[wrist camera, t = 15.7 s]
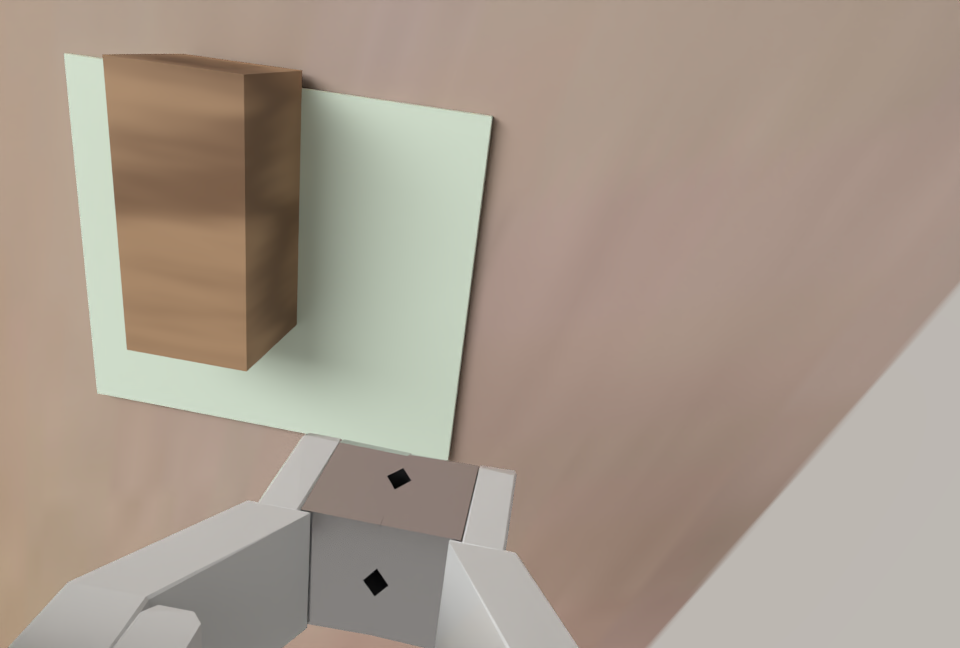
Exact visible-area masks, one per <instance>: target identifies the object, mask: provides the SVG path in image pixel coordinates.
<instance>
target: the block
mask: <svg viewBox="0 0 960 648" xmlns="http://www.w3.org/2000/svg"><path fill="white" fill-rule="evenodd" d="M103 67H104V79H105V91H106V103H107V115H108V127H109V140H110V152H111V164H112V176H113V188H114V200H115V212H116V224H117V236H118V248H119V261H120V273H121V285H122V297H123V309H124V321H125V333H126V345H127V350H131V351H137V352H142V353H148V354H153V355H159V356H164V357H169V358H175V359H180V360H186V361H191V362H197V363H202V364H208V365H213V366H219V367H224V368H230V369H235V370H241V371H246V372H247V371H248V370H249V369H250V368H251V367H252V366H253V365H254V364H255V363H256V362H257V361H259V360H260V359H261V358H262V357H263V356H264V355H265V354H266V353H267V352H268V351H269V350H270V349H271V348H272V347H273V346H275V345H276V344H277V343H278V342H279V341H280V340H281V339H282V338H283V337H284V336H285V335H286V334H287V333H288V332H290V331H291V330H292V329H293V328H294V327H295V326H296V325H297V287H298V240H299V193H300V146H301V99H302V70H294V69H287V68H280V67H273V66H266V65H259V64H252V63H244V62H237V61H230V60H223V59H216V58H209V57H202V56H194V55H187V54H114V55H103Z"/></svg>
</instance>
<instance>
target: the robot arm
mask: <svg viewBox="0 0 960 648" xmlns="http://www.w3.org/2000/svg"><path fill="white" fill-rule="evenodd" d="M515 482H516V472H515V470H508V469H502V468H495V467H489V466H482V465H481V466H480V468H479V466H476V465H471V464H465V463H459V462H454V461H448V460H442V459H437V458H431V457H425V456H420V455H414V454H411V453H408V452H403V451H398V450H393V449H388V448H384V447H379V446H374V445H369V444H365V443H360V442H355V441H350V440H345V439H344V440H342V439H340V438H335V437H330V436H324V435H319V434H314V433H308V434H306V435H304V436H303V437H302V438H301V439H300V441H299V442H298V444H297V445H296V447H295V448H294V450H293V451H292V453H291V454H290V456H289V457H288V459H287V460H286V462H285V463H284V465H283V466H282V467H281V469H280V470H279V472H278V473H277V475H276V476H275V478H274V479H273V481H272V482H271V484H270V485H269V487H268V488H267V490H266V491H265V493H264V494H263V496H262V497H261V498H260V500H259V501H258V502H253V501H245V502H243V503H241V504H239V505H237V506H234V507H232V508H230V509H228V510H226V511H223V512H221V513H219V514H217V515H215V516H212V517H210V518H208V519H206V520H204V521H201V522H199V523H197V524H195V525H193V526H190V527H188V528H186V529H184V530H182V531H179V532H177V533H175V534H173V535H171V536H168V537H166V538H164V539H162V540H160V541H157V542H155V543H153V544H151V545H149V546H146V547H144V548H142V549H140V550H138V551H135V552H133V553H131V554H129V555H127V556H124V557H122V558H120V559H118V560H116V561H113V562H111V563H109V564H107V565H105V566H102V567H100V568H98V569H96V570H94V571H91V572H89V573H87V574H85V575H83V576H80V577H78V578H76V579H74V580H72V581H69V582H68V583H67V584H66V585H65V586H64V587H63V588H62V589H61V590H60V591H59V593H58V594H57V595H56V596H55V597H54V598H53V599H52V600H51V601H50V602H49V603H48V604H47V606H46V607H45V608H44V609H43V610H42V611H41V612H40V613H39V614H38V615H37V616H36V617H35V619H34V620H33V621H32V622H31V623H30V624H29V625H28V626H27V627H26V628H25V629H24V631H23V632H22V633H21V634H20V635H19V636H18V637H17V638H16V639H15V640H14V641H13V642H12V644H11V645H10V646H9V647H8V648H282V647H284V646H285V645H286V644H287V643H289V642H290V641H291V640H292V639H294V638H295V637H296V636H297V635H299V634H300V633H301V632H302V631H304V630H305V629H306V628H307V624H311V625H317V626H323V627H328V628H334V629H340V630H345V631H351V632H357V633H362V634H368V635H373V636H377V637H381V638H385V639H390V640H394V641H398V642H402V643H407V644H411V645H415V646H419V647H424V648H579V647H578V646H577V644H576V642H575V641H574V639H573V638H572V636H571V635H570V633H569V632H568V630H567V629H566V627H565V626H564V624H563V623H562V621H561V620H560V618H559V617H558V615H557V614H556V612H555V611H554V609H553V608H552V606H551V605H550V603H549V602H548V600H547V599H546V597H545V596H544V594H543V593H542V591H541V590H540V588H539V587H538V585H537V584H536V582H535V580H534V579H533V577H532V576H531V574H530V573H529V571H528V570H527V568H526V567H525V565H524V564H523V562H522V561H521V559H520V558H519V556H518V555H517V553H514V552H509V551H506V544H507V537H508V531H509V524H510V517H511V510H512V503H513V496H514V489H515Z"/></svg>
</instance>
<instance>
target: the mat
mask: <svg viewBox="0 0 960 648" xmlns="http://www.w3.org/2000/svg"><path fill="white" fill-rule="evenodd" d="M64 60H65V70H66V81H67V91H68V101H69V111H70V121H71V131H72V141H73V152H74V162H75V172H76V182H77V192H78V202H79V213H80V223H81V233H82V243H83V253H84V263H85V273H86V284H87V294H88V304H89V314H90V324H91V334H92V345H93V355H94V365H95V375H96V385H97V393H99V394H104V395H109V396H115V397H120V398H125V399H130V400H135V401H140V402H145V403H151V404H156V405H161V406H166V407H171V408H176V409H182V410H187V411H192V412H197V413H202V414H207V415H213V416H218V417H223V418H228V419H233V420H238V421H243V422H249V423H254V424H259V425H264V426H269V427H274V428H280V429H285V430H290V431H295V432H300V433H305V434H308V433H314V434H319V435H324V436H330V437H335V438H340V439H342V440H344V439H345V440H350V441H355V442H360V443H365V444H369V445H374V446H379V447H384V448H388V449H393V450H398V451H403V452H408V453H411V454H414V455H420V456H425V457H431V458H437V459H442V460H448V459H449V455H450V447H451V440H452V432H453V424H454V416H455V409H456V401H457V393H458V385H459V378H460V370H461V362H462V354H463V347H464V339H465V331H466V323H467V316H468V308H469V300H470V292H471V285H472V277H473V269H474V261H475V254H476V246H477V238H478V231H479V223H480V215H481V207H482V200H483V192H484V184H485V176H486V169H487V161H488V153H489V145H490V138H491V130H492V122H493V116H490V115H484V114H477V113H470V112H463V111H456V110H450V109H443V108H436V107H429V106H423V105H416V104H409V103H402V102H396V101H389V100H382V99H375V98H368V97H362V96H355V95H348V94H341V93H335V92H328V91H321V90H314V89H308V88H302V99H301V146H300V193H299V240H298V287H297V325H296V326H295V327H294V328H293V329H292V330H291V331H290V332H288V333H287V334H286V335H285V336H284V337H283V338H282V339H281V340H280V341H279V342H278V343H277V344H276V345H275V346H273V347H272V348H271V349H270V350H269V351H268V352H267V353H266V354H265V355H264V356H263V357H262V358H261V359H260V360H259V361H257V362H256V363H255V364H254V365H253V366H252V367H251V368H250V369H249V370H248V371H247V372H246V371H241V370H235V369H230V368H224V367H219V366H213V365H208V364H202V363H197V362H191V361H186V360H180V359H175V358H169V357H164V356H159V355H153V354H148V353H142V352H137V351H131V350H127V345H126V333H125V321H124V309H123V297H122V285H121V273H120V261H119V248H118V236H117V224H116V212H115V200H114V188H113V176H112V164H111V152H110V140H109V127H108V115H107V103H106V91H105V79H104V67H103V58H98V57H91V56H84V55H77V54H64Z"/></svg>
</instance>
